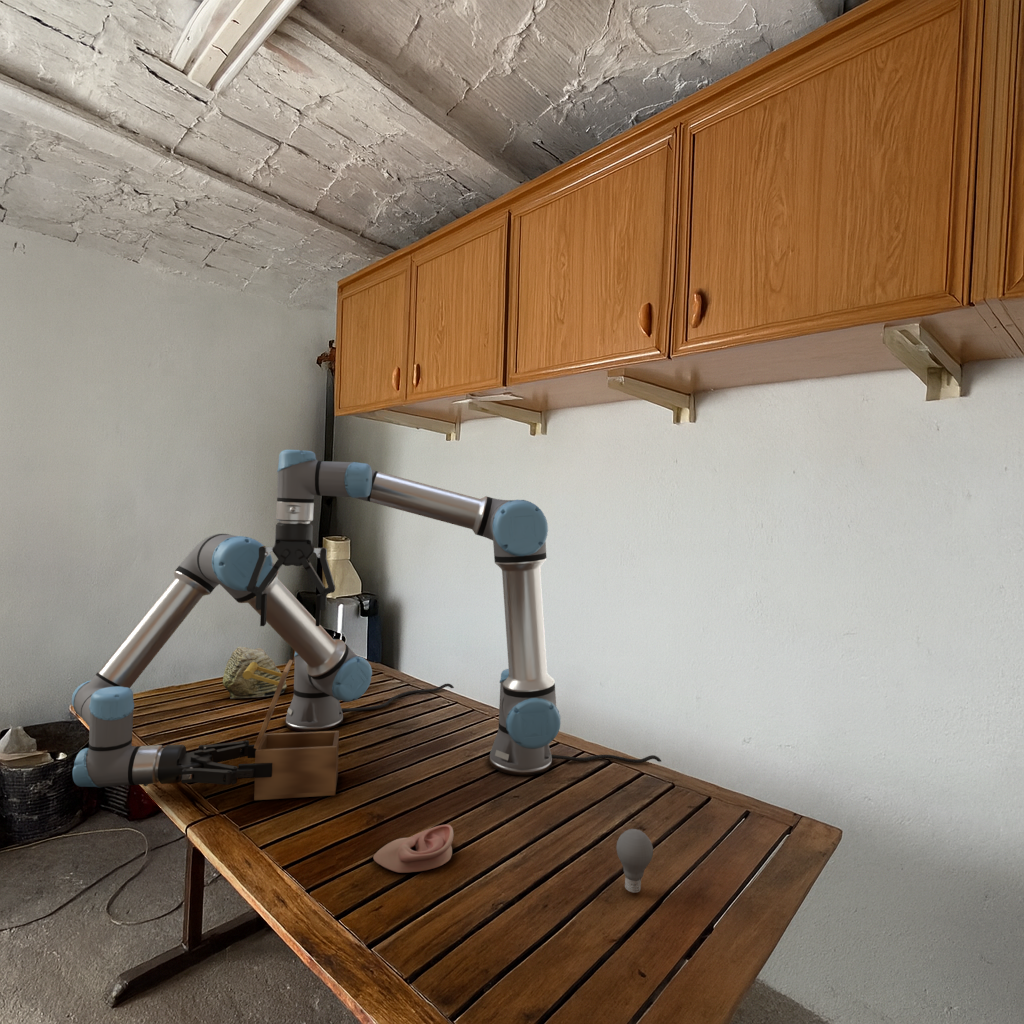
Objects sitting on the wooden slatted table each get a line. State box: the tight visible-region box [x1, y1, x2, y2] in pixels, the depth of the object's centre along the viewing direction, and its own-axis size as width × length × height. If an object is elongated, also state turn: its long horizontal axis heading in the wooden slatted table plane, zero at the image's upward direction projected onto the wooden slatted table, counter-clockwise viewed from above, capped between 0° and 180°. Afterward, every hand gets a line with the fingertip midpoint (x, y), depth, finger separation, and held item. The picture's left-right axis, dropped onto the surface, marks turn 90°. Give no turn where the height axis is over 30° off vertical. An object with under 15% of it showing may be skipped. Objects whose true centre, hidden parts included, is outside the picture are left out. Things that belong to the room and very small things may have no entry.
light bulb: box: [615, 828, 654, 894], centre depth 106 cm, size 6×6×10 cm
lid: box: [243, 659, 294, 749], centre depth 135 cm, size 17×10×8 cm
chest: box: [253, 730, 340, 801], centre depth 137 cm, size 16×10×10 cm, turn 102°
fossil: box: [222, 646, 288, 699], centre depth 198 cm, size 9×18×15 cm, turn 132°
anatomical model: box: [372, 824, 455, 874], centre depth 113 cm, size 13×4×12 cm
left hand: (275, 759), depth 136 cm, fingers closed on chest, 10 cm apart
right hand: (290, 625), depth 136 cm, fingers open, 10 cm apart
